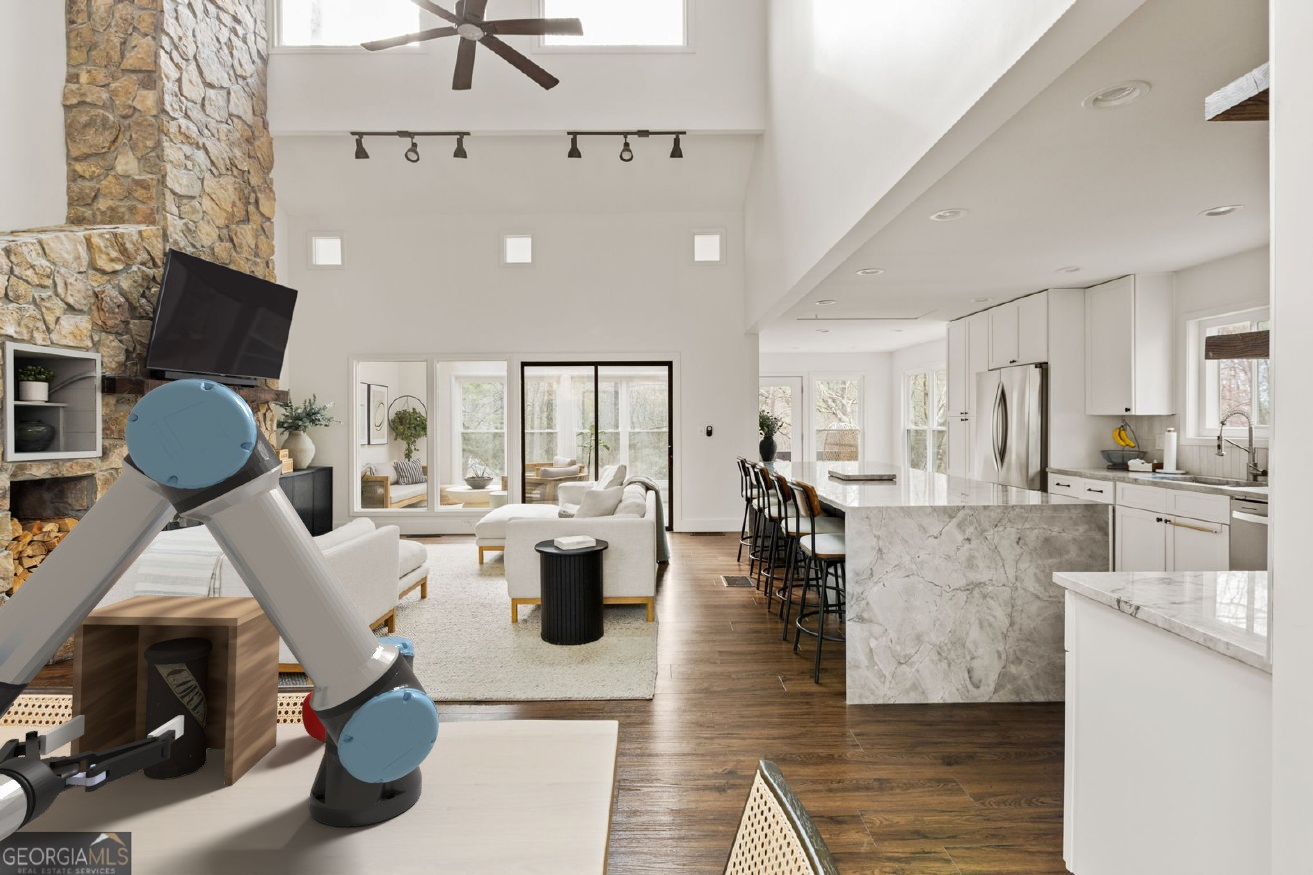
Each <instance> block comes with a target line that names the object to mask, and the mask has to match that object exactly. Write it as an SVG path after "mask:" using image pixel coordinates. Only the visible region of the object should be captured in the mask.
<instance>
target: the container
mask: <svg viewBox="0 0 1313 875" xmlns="http://www.w3.org/2000/svg"><path fill="white" fill-rule="evenodd" d="M212 648H213V645H212V643H211V642H210V641H209V640H207V639H205V638H200V637H186V638H177V639H171V640H166V641H162V642H158V643H155V644H153V645H151V646H150V647H148V648H147V649H146V650H145V651H144V658H145V659H146V661H147V662H148V686H147V706H146V729H145V739H147V735H148V734H150V733H151V732H153V731H155V730H156V729H158V728H159V727H161V726H162V725H164V724H166V723H167V722H169V721H170V720H172V719H174V718H175V717H177V716H178V715H184V732H183V735H181V736H180V737H179V738H177V739H176V740H175V741H174V742H173V743H171V744H170V758H169V759H167V760H165V761H162V762H160V763H157V764H155V765H152V766H150V767H147V768H145V769H142V770H143V775H144V776H145V777H146V778H147V779H153V780H170V779H177V778H181V777H183V776H188V775H190V774H191V775H192V774H193V773H196V772H198V771H199V770H200V769H202V768H203V767H204V766H205V764H206V763H207V756H208V755H207V754H208V751H207V750H208V749H207V675H208V655H209V654H210V652H211V650H212Z"/></svg>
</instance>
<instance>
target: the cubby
mask: <svg viewBox="0 0 1313 875" xmlns="http://www.w3.org/2000/svg"><path fill="white" fill-rule="evenodd" d="M73 634H74V638H73V665H72V691H71V692H72V697H71V719H73V718H74V717H76V716H78V715H85V719H84V734H83V735H82V736H80V737H78V738H76V739H74V740H72V741H71V742H70V754H69V756H72V755H76V754H79V753H83V752H86V751H93V752H94V753H97V752H101V751H104V750H108V749H111V748H115V747H119V746H122V745H126V744H129V743H133V742H136V741H140V740H144V739H145V729H146V706H147V686H148V662H147V661H146V659H145V658H144V651H145V650H146V649H147V648H148V647H150V646H151V645H153V644H155V643H158V642H162V641H166V640H171V639H177V638H186V637H200V638H205V639H207V640H209V641H210V642H211V643H212V645H213V648H212V650H211V652H210V654H209V655H208V675H207V750H224V753H225V754H224V772H223V776H224V778H223V780H224V781H223V785H224V786H233V785H235V783H236V782H238V781H239V780H240V779H241V778H242V777H244V775H246V774H247V773H248V772H249V771H250V770H251V769H252V768H253V767H254V766H256V765H257V764H258V763H259V762H260V761H261V760H262V759H264V758H265V756H266V755H267V754H269V752H271V751H273V749H275V747H277V731H278V728H277V727H278V701H279V700H278V699H279V698H278V696H279V694H278V693H279V671H280V670H279V667H280V665H279V664H280V638H281V636H280V635H279V633H278V632H277V630H276V629H275V627H274V626H273V624H272V623H271V621H270V620H269V619H268V617H267V616H266V614H265V613H264V611H263V610H262V608H261V607H260V605H259V604H258V602H257V601H256V599H255V598H254V596H253V597H251V596H249V597H247V596H245V597H244V596H182V595H181V596H176V595H175V596H174V595H173V596H172V595H170V596H169V595H168V596H167V595H165V596H164V595H136V596H133V597H130V598H127V599H123V600H121V601H118V602H114V603H111V604H108V605H105V606H102V607H100V608H99V607H98V608H97V609H95V608H94V609H93V610H92V611H91V612H90V614H89V615H88V616H87V617H86V618H85V619H84V621H83V622H82V623H81V624H80V625H79V626H78V628H77V629H76V630H75V631H74V632H73ZM85 767H86V759H85V760H82V761H80V773H84V772H85ZM76 786H77V787H78V786H79V785H76ZM76 786H75V787H76Z"/></svg>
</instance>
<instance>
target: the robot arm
mask: <svg viewBox="0 0 1313 875" xmlns="http://www.w3.org/2000/svg"><path fill="white" fill-rule="evenodd" d="M125 423H126V424H125V432H124V437H125V444H126V447H127V452H128V453H127V454H126V455H125V456H124V457H123V458H122V459H121V460H120V461H121V465H122V466H121V467H122V474H120V475H119V477H118V478H116V480H115V481H114V482H113V483H112V484H111V486H110V487H109V488H108V489H106V491H105V492H104V493H103V494H102V496H100V498H99V499H98V500H97V501H96V502H95V503H94V504H93V505H92V507H91V508H90V509H89V510H88V511H87V512H86V513H85V515H83V517H82V518H80V520H79V521H78V522H77V523H76V524H75V525H74V526H73V528H72V529H71V530H69V532H68V533H67V534H66V535H65V536H64V537H63V539H62V540H61V541H60V542H59V543H58V544H57V545H56V546H55V547H54V549H53V550H52V551H51V552H50V553H49V554H48V555H47V556H46V557H45V559H44V560H43V561H42V562H41V563H40V564H39V565H38V566H37V567H36V568H35V570H34V571H33V572H32V573H31V574H30V575H28V577H27V578H26V580H25V581H23V583H22V584H21V585H20V586H19V587H18V588H17V589H16V591H15V592H14V593H13V594H12V595H11V596H10V597H9V599H8V600H7V601H5V603H4V604H3V605H2V606H1V607H0V720H1V719H3V717H4V716H5V715H6V714H7V713H8V712H9V710H10V709H11V707H12V706H13V704H14V702H15V701H16V700H17V699H19V698H18V697H20V695H22V693H23V692H24V691H25V690H26V689H27V687H28V686H29V684H30V683H32V680H34V679H35V677H36V676H37V675H38V674H39V673H40V671H41V670H42V669H43V668H44V667H45V666H46V665H47V664H48V663H49V661H50V660H51V659H52V657H54V655H55V654H57V652H58V651H59V650H60V648H61V647H62V646H63V645H64V644H65V643H66V642H67V640H68V639H69V638H70V637H71V636H72V635H73V634H74V631H75V630H76V629H77V628H78V626H79V625H80V624H81V623H82V622H83V621H84V619H85V618H86V617H87V616H88V615H89V614H90V612H91V611H92V610H95V608H96V607H97V606H98V605H99V603H100V602H102V600H103V599H104V598H105V596H106V595H108V593H109V592H110V591H111V589H113V587H114V586H115V585H116V584H117V583H118V581H119V580H120V579H121V578H122V577H123V575H125V574H126V572H127V571H128V570H129V569H130V567H131V566H132V565H133V564H134V562H136V561H137V559H138V558H140V556H141V555H142V554H143V553H144V552H145V550H146V549H147V548H148V547H149V546H150V544H151V543H152V542H153V541H154V540H155V539H156V537H157V536H158V535H159V534H160V533H161V532H162V530H164V528H165V527H166V526H167V525H168V524H169V522H170V521H171V520H172V519H173V518H174V517H175V516H176V514H178V516H179V517H181V518H185V519H191V520H195V521H196V520H197V521H199V522H201V523H203V524H204V525H205V527H206V529H207V530H208V531H209V533H210V534H211V536H212V538H214V540H215V542H216V543H217V544H218V546H219V548H220V549H221V551H223V553H224V555H225V556H226V557H227V560H228V561H229V562H230V563H231V566H232V567H233V568H234V570H235V571H236V573H237V574H238V576H239V577H240V579H241V580H242V582H243V583H244V584H245V586H246V587H247V589H248V591H249V592H250V593H251V595H252V596H253V597H254V598H255V599H256V601H257V602H258V604H259V605H260V607H261V608H262V610H263V611H264V613H265V614H266V616H267V617H268V619H269V620H270V621H271V623H272V624H273V626H274V627H275V629H276V630H277V632H278V633H279V635H280V638H281V639H282V641H283V643H284V644H285V645H286V647H287V648H288V649H289V651H290V653H291V654H292V655H293V657H294V658H295V660H296V661H297V663H298V664H299V666H300V667H301V669H302V670H303V671H304V673H305V675H306V677H307V678H308V679H309V681H310V682H311V683H312V685H313V689H312V691H313V692H312V695H311V698H310V703H309V704H310V706H311V708H312V709H313V711H314V712H315V714H316V715H317V717H318V718H319V720H320V721H321V723H322V724H323V726H324V727H325V729H326V733H325V741H324V754H323V755H322V758H321V761H320V764H319V767H318V769H317V773H316V775H315V778H314V779H313V780H314V781H313V782H312V785H311V789H310V792H309V793H310V794H309V814H310V815H311V816H312V818H313V819H314V820H316V821H318V822H319V823H322V824H325V825H329V826H335V827H359V826H360V827H361V826H368V825H372V824H376V823H380V822H383V821H386V820H388V819H389V820H390V819H392V818H394V817H396V816H398V815H400V814H402V813H403V812H406V811H407V810H408V809H410V808H411V807H412V806H413V805H414V804H416V803H417V802H418V800H419V799H420V797H421V795H422V791H423V790H422V788H423V787H422V786H423V784H422V783H423V775H422V770H421V767H420V765H421V764H423V762H424V761H425V759H426V758H427V757H428V755H430V753H431V751H432V750H433V748H434V745H435V742H436V740H437V737H438V735H439V727H440V722H439V720H440V719H439V716H438V715H439V714H438V709H437V705H436V704H435V702H434V700H433V699H432V698H431V696H429V694H427V691H426V690H425V688H424V687H423V685H422V684H421V682H420V681H419V679H418V677H417V676H416V675H415V673H414V658H415V656H416V654H415V652H414V643H413V642H412V640H411V639H408V638H406V637H398V636H397V637H396V636H391V637H390V636H389V637H387V636H384V637H376V635H375V634H374V632H373V630H372V629H371V627H370V626H369V625H368V623H367V621H366V620H365V618H364V616H363V614H362V613H361V611H360V610H359V608H358V607H357V606H356V604H355V602H354V601H353V599H352V598H351V595H350V594H349V593H348V591H347V589H346V588H345V587H344V585H343V583H342V582H341V580H340V579H339V577H338V575H337V574H336V572H335V571H334V569H333V567H332V566H331V564H330V563H329V561H328V559H327V558H326V556H325V555H324V553H323V552H322V550H321V548H320V547H319V545H318V544H317V542H316V541H315V538H313V536H312V534H311V533H310V531H309V530H308V528H307V527H306V525H305V523H304V522H303V520H302V519H301V517H300V515H299V513H298V512H297V510H296V509H295V507H294V506H293V505H292V503H291V501H290V499H289V498H288V497H287V495H286V493H285V492H284V490H283V488H282V487H281V486H280V484H279V483H280V477H281V475H282V470H283V468H284V465H283V462H282V461H281V460H280V457H279V456H278V454H277V452H276V451H275V449H274V448H273V447H272V444H271V443H270V442H269V440H268V438H267V437H266V435H265V434H264V431H263V430H262V429H261V427H260V425H259V424H258V422H257V420H256V419H255V415H254V414H253V411H252V410H251V408H250V405H248V403H247V402H246V400H244V399H243V398H242V396H240V395H239V394H238V393H237V392H236V391H234V390H233V389H232V388H229V387H228V386H226V385H224V384H222V383H219V382H216V381H214V380H209V379H204V378H202V379H201V378H186V379H185V378H184V379H178V380H174V381H170V382H167V383H163V384H161V385H159V386H157V387H155V388H153V389H152V390H150V391H148V392H147V393H146V394H144V395H143V397H141V398H140V399H139V400H138V401H137V402H136V404H135V405H134V406H133V407H132V409H131V411H130V413H129V415H128V418H127V420H126V422H125ZM84 719H85V715H78V716H76V717H74V718H73V719H72V718H71V719H69V720H67V721H65V722H63V723H61V724H59V725H58V726H55V727H54V728H51V729H49V730H47V731H45V732H43V733H41V734H40V735H39V732H38V731H39V730H32V731H31V730H30V731H28V732H26V733H25V740H24V741H20V739H19V738H11V739H8V740H6V741H5V743H4V744H3V745H2V746H1V748H0V842H2V841H3V840H4V839H6V838H7V837H10V835H12V834H13V833H15V832H17V831H18V830H20V829H22V828H23V827H25V826H26V825H29V823H31V822H33V821H34V820H36V819H38V818H39V817H40V816H42V815H43V814H44V813H45V812H47V810H49V809H50V807H51V806H52V805H53V803H54V802H55V800H56V798H57V797H58V796H59V795H60V794H61V793H63V792H66V791H68V790H70V789H73V788H74V787H76V785H78V786H85V787H84V792H85V793H92V792H95V791H97V790H99V789H100V788H101V789H102V787H104V786H105V785H107V784H109V783H112V782H114V781H116V780H119V779H122V778H124V777H127V776H130V775H131V774H134V773H137V772H140V771H142V770H143V769H145V768H147V767H150V766H152V765H155V764H157V763H160V762H162V761H165V760H167V759H169V758H170V744H171V743H173V742H174V741H175V740H176V739H177V738H179V737H180V736H181V735H183V732H184V715H178V716H177V717H175V718H174V719H172V720H170V721H169V722H167V723H166V724H164V725H162V726H161V727H159V728H158V729H156V730H155V731H153V732H151V733H150V734H148V735H147V739H144V740H140V741H136V742H133V743H129V744H126V745H122V746H119V747H115V748H111V749H108V750H104V751H101V752H97V753H94V752H93V751H86V752H83V753H79V754H76V755H72V756H70V755H69V756H66V755H62V756H49V757H46V758H45V757H44V758H41V757H42V756H47V755H49V754H51V753H52V752H54V751H56V750H58V749H60V748H62V747H64V746H65V745H67V744H69V743H71V741H72V740H74V739H76V738H78V737H80V736H82V735H83V734H84ZM85 759H86V767H85V772H84V773H80V761H82V760H85Z"/></svg>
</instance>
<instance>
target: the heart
mask: <svg viewBox="0 0 1313 875" xmlns="http://www.w3.org/2000/svg"><path fill="white" fill-rule="evenodd" d="M312 692H313V690H312V691H310V692H309V693H308V694H307V695H306V696H305V697H304V699H303V702H302V704H301V705H302V706H301V718H302V723H303V727H304V730H305V732H306V733H307V734H308V735H309V736H310V737H311V738H313V739H314V740H317V741H320V742H325V733H326V729H325V727H324V726H323V724H322V723H321V721H320V720H319V718H318V717H317V715H316V714H315V712H314V711H313V709H312V708H311V706H310V704H309V703H310V698H311V695H312Z"/></svg>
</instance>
